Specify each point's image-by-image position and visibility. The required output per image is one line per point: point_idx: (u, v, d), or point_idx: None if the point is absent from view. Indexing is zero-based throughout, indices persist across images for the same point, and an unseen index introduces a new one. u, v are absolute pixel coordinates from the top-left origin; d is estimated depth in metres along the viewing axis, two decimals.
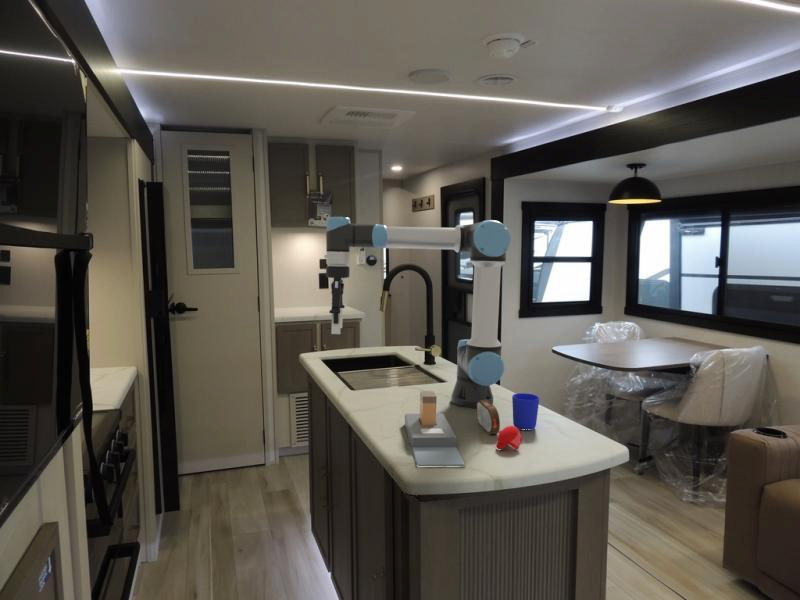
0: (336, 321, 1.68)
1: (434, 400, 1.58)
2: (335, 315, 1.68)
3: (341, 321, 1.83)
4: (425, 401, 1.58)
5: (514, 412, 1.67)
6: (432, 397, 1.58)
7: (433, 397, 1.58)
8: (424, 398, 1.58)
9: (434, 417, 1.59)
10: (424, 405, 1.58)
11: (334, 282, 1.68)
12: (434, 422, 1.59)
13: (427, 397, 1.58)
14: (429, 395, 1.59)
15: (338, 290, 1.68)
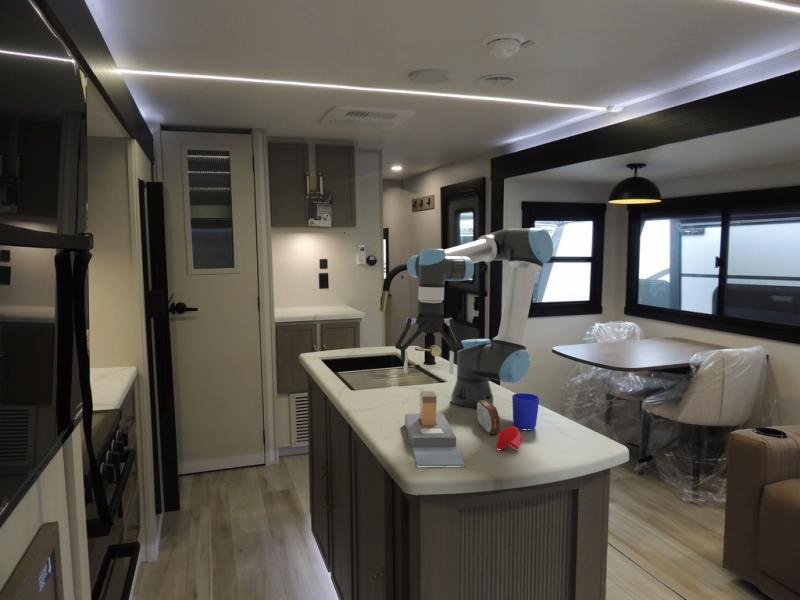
0: (401, 358, 1.59)
1: (434, 400, 1.58)
2: None
3: (450, 366, 1.60)
4: (425, 401, 1.58)
5: (514, 412, 1.67)
6: (432, 397, 1.58)
7: (433, 397, 1.58)
8: (424, 398, 1.58)
9: (434, 417, 1.59)
10: (424, 405, 1.58)
11: (407, 318, 1.59)
12: (434, 422, 1.59)
13: (427, 397, 1.58)
14: (429, 395, 1.59)
15: (405, 326, 1.58)
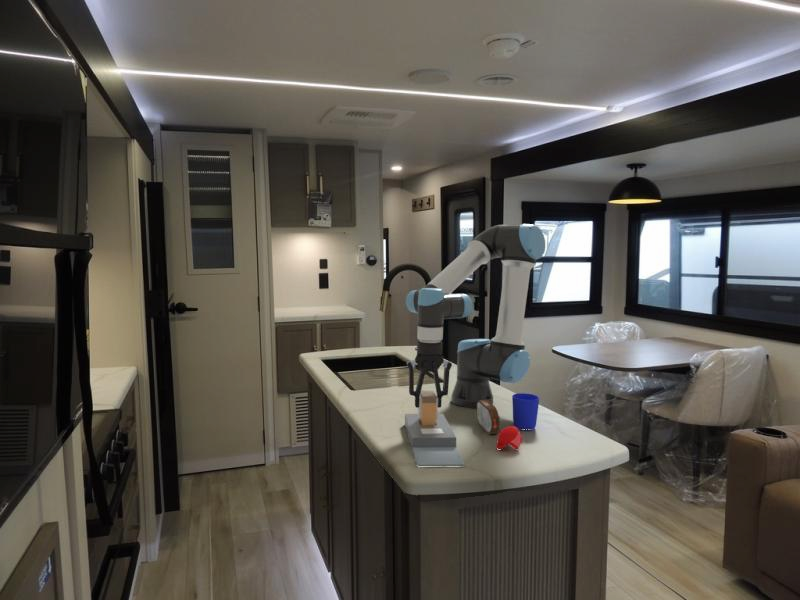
0: (415, 404, 1.61)
1: (434, 400, 1.58)
2: (415, 398, 1.61)
3: None
4: (425, 401, 1.58)
5: (514, 412, 1.67)
6: (432, 397, 1.58)
7: (433, 397, 1.58)
8: (424, 398, 1.58)
9: (434, 417, 1.59)
10: (424, 405, 1.58)
11: (407, 363, 1.60)
12: (434, 422, 1.59)
13: (427, 397, 1.58)
14: (429, 395, 1.59)
15: (409, 372, 1.59)
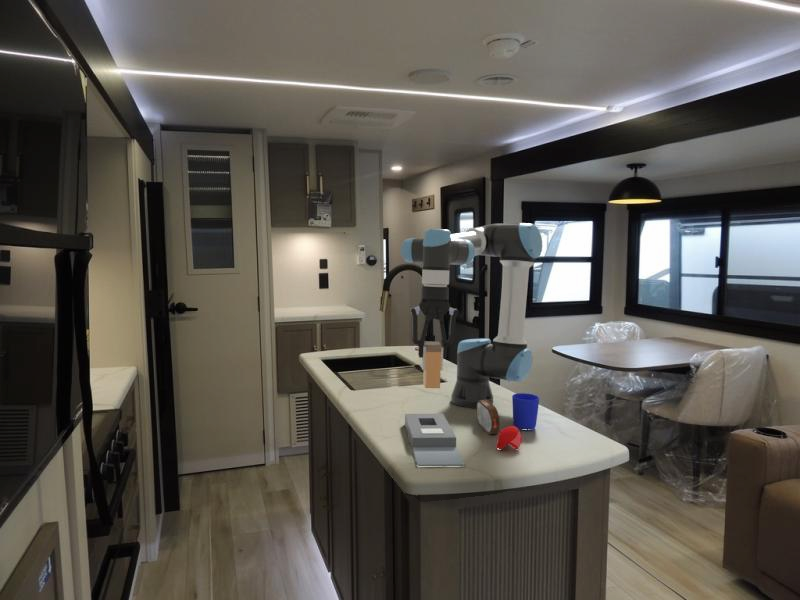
0: (418, 354, 1.50)
1: (439, 349, 1.48)
2: None
3: None
4: (429, 350, 1.47)
5: (514, 412, 1.67)
6: (437, 345, 1.47)
7: (438, 345, 1.47)
8: (428, 346, 1.47)
9: (439, 367, 1.48)
10: (428, 354, 1.47)
11: (410, 309, 1.50)
12: (439, 373, 1.48)
13: (431, 345, 1.47)
14: (434, 344, 1.49)
15: (412, 319, 1.49)
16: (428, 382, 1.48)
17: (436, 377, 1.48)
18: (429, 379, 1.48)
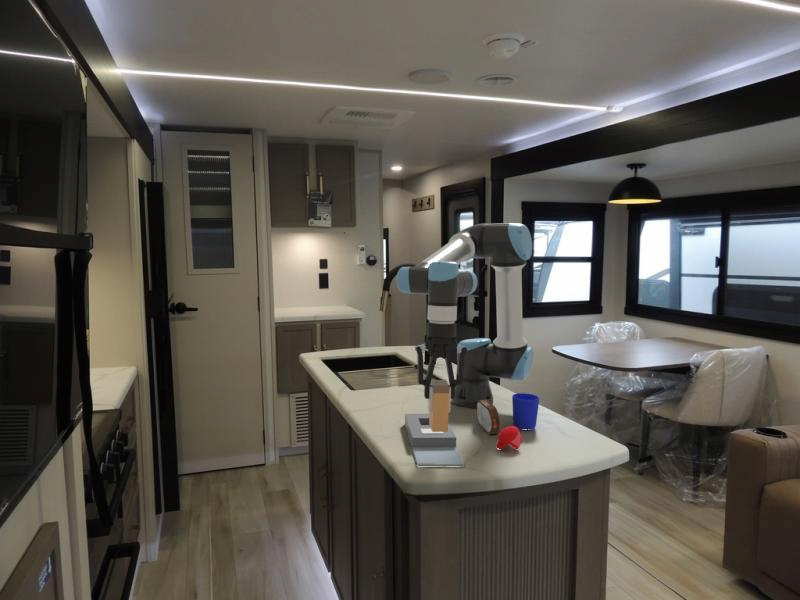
0: (424, 395, 1.40)
1: (447, 390, 1.38)
2: (424, 388, 1.40)
3: None
4: (436, 391, 1.37)
5: (514, 412, 1.67)
6: (444, 386, 1.37)
7: (445, 386, 1.38)
8: (435, 387, 1.37)
9: (447, 409, 1.38)
10: (435, 395, 1.37)
11: (415, 347, 1.40)
12: (447, 415, 1.38)
13: (439, 386, 1.37)
14: (441, 384, 1.39)
15: (418, 357, 1.39)
16: (436, 425, 1.38)
17: (444, 419, 1.38)
18: (436, 422, 1.38)
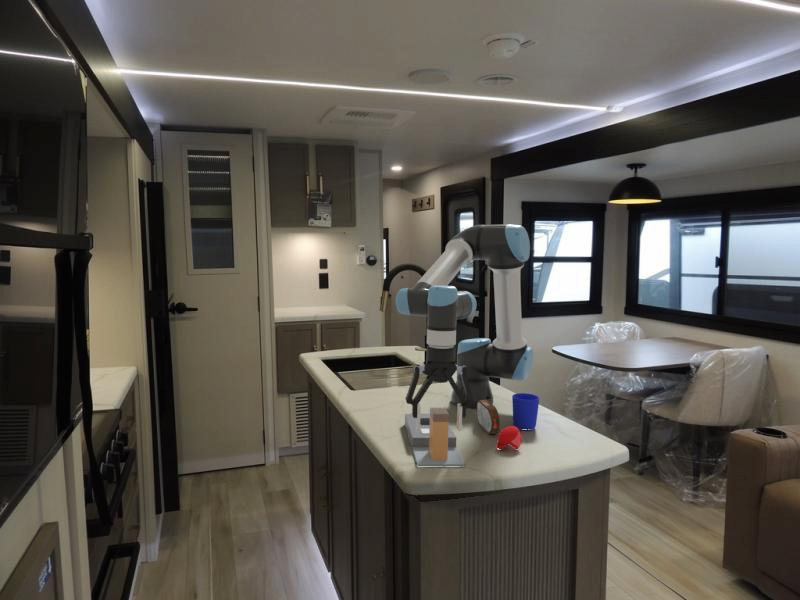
0: (412, 414, 1.40)
1: (446, 418, 1.38)
2: (412, 407, 1.40)
3: (458, 422, 1.41)
4: (436, 419, 1.38)
5: (514, 412, 1.67)
6: (444, 415, 1.38)
7: (445, 415, 1.38)
8: (435, 416, 1.38)
9: (446, 438, 1.39)
10: (435, 424, 1.38)
11: (414, 366, 1.40)
12: (446, 443, 1.39)
13: (438, 415, 1.38)
14: (440, 412, 1.39)
15: (413, 377, 1.39)
16: (435, 454, 1.39)
17: (444, 448, 1.39)
18: (436, 450, 1.39)
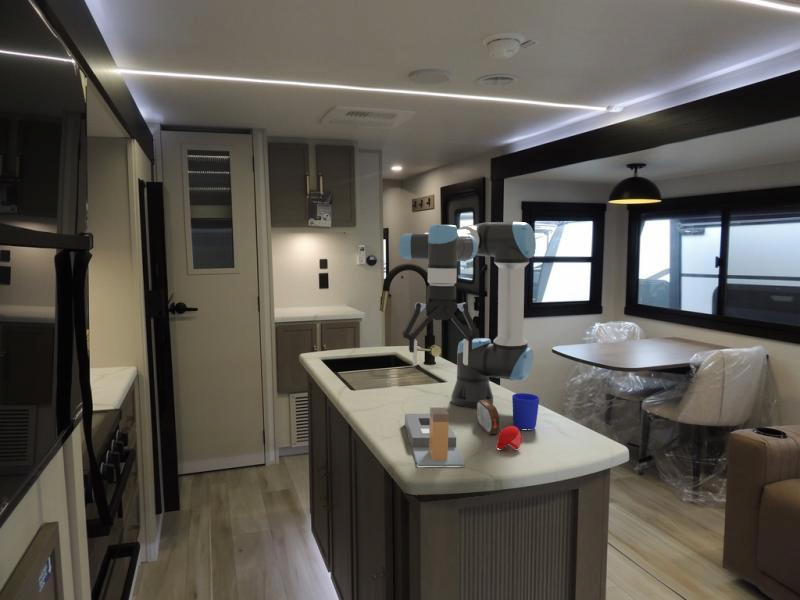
0: (409, 349, 1.42)
1: (446, 418, 1.38)
2: (409, 342, 1.42)
3: (464, 356, 1.43)
4: (436, 419, 1.38)
5: (514, 412, 1.67)
6: (444, 415, 1.38)
7: (445, 415, 1.38)
8: (435, 416, 1.38)
9: (446, 438, 1.39)
10: (435, 424, 1.38)
11: (416, 303, 1.42)
12: (446, 443, 1.39)
13: (438, 415, 1.38)
14: (440, 412, 1.39)
15: (414, 313, 1.41)
16: (435, 454, 1.39)
17: (444, 448, 1.39)
18: (436, 450, 1.39)
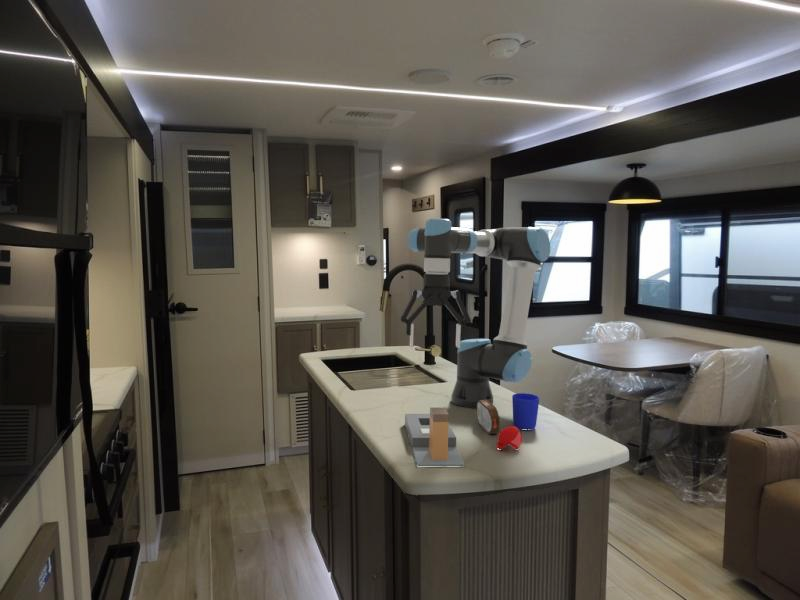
0: (406, 332, 1.55)
1: (446, 418, 1.38)
2: (406, 325, 1.56)
3: (457, 339, 1.56)
4: (436, 419, 1.38)
5: (514, 412, 1.67)
6: (444, 415, 1.38)
7: (445, 415, 1.38)
8: (435, 416, 1.38)
9: (446, 438, 1.39)
10: (435, 424, 1.38)
11: (413, 290, 1.55)
12: (446, 443, 1.39)
13: (438, 415, 1.38)
14: (440, 412, 1.39)
15: (411, 299, 1.54)
16: (435, 454, 1.39)
17: (444, 448, 1.39)
18: (436, 450, 1.39)
